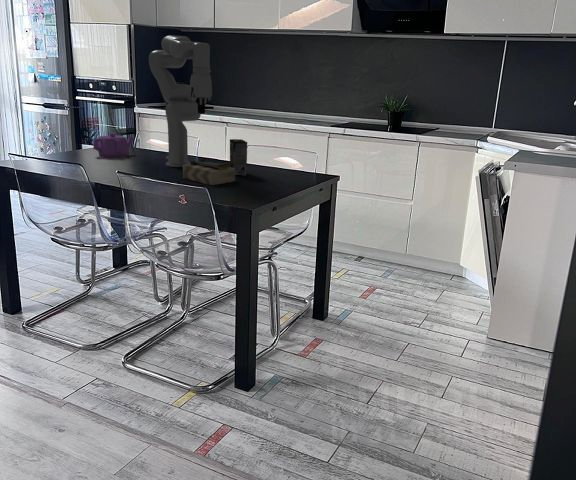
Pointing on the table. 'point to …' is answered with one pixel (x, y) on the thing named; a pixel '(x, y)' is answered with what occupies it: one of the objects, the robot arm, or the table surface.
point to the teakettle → (112, 146)
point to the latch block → (209, 173)
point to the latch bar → (206, 164)
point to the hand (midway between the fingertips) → (201, 113)
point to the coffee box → (238, 156)
